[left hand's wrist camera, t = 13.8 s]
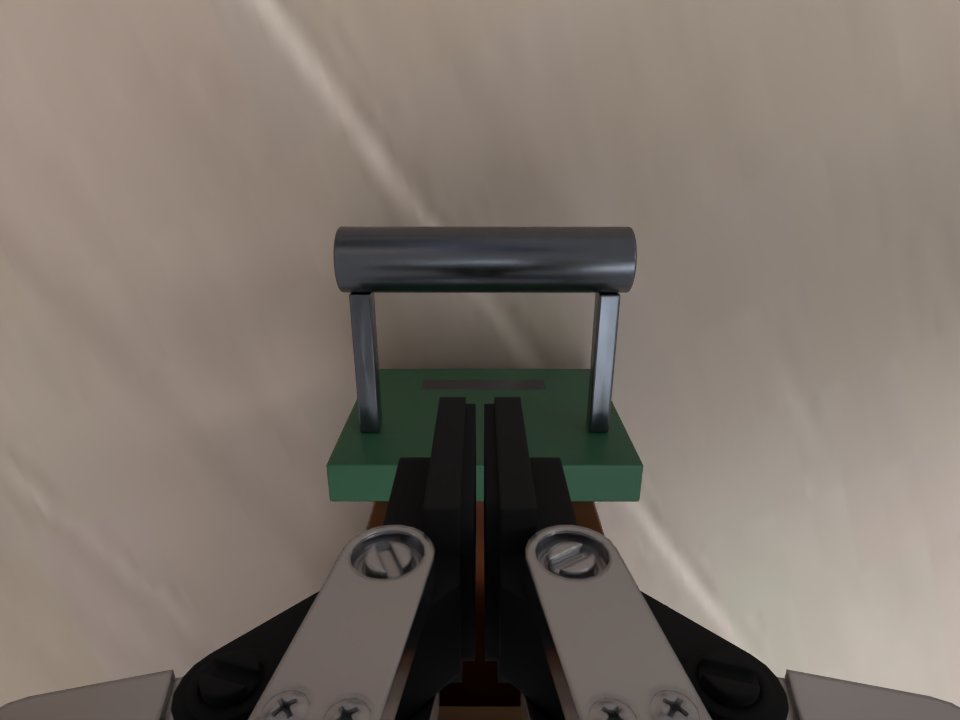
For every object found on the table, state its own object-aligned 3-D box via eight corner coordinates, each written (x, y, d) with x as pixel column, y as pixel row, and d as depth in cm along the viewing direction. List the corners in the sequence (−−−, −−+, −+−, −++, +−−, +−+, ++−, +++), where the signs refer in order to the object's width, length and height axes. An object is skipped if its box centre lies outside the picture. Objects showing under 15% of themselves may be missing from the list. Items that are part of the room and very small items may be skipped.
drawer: (359, 205, 21) (301, 240, 14) (608, 206, 21) (669, 240, 14) (394, 714, 29) (369, 883, 23) (570, 714, 29) (596, 883, 23)
